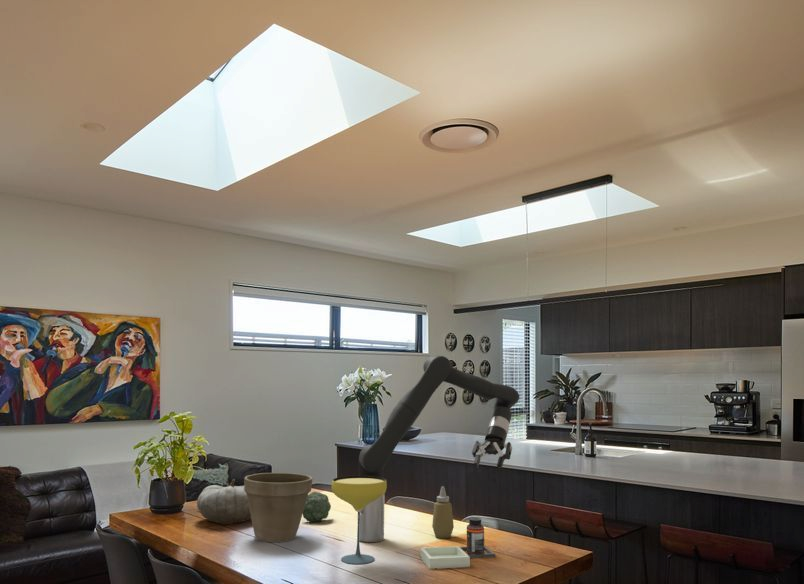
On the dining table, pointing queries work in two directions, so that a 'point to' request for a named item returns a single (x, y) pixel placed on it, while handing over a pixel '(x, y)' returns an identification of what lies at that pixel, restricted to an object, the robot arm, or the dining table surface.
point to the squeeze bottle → (442, 516)
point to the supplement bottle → (475, 536)
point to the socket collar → (488, 554)
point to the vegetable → (316, 507)
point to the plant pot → (276, 504)
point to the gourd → (224, 504)
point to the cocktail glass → (358, 503)
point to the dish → (444, 557)
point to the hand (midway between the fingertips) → (487, 466)
